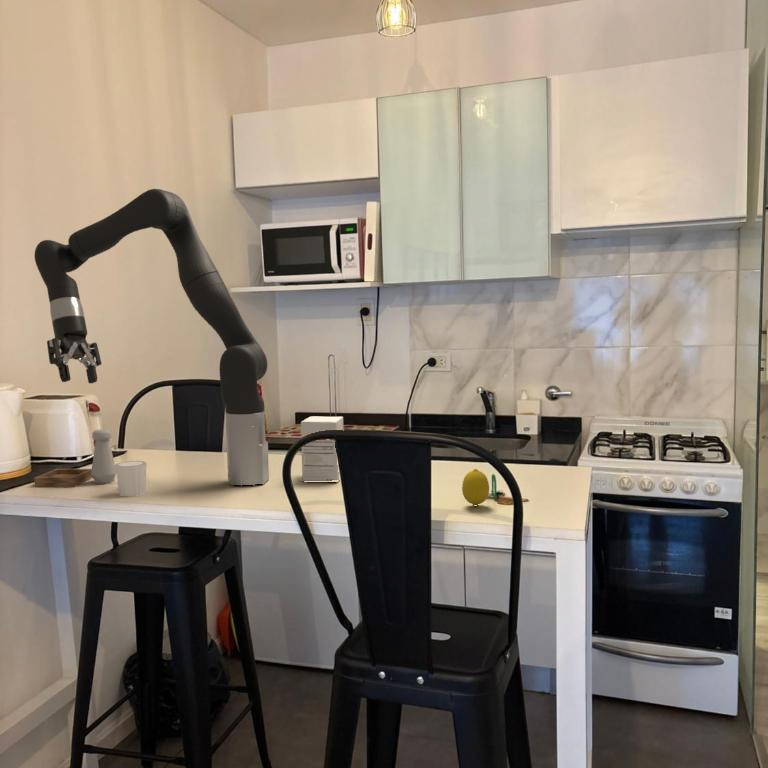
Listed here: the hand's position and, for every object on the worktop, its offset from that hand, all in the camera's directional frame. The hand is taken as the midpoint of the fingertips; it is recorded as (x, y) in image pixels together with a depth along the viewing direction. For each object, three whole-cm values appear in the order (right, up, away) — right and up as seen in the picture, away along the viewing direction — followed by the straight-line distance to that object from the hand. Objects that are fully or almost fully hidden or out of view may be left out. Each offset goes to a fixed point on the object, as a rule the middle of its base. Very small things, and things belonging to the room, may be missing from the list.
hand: (80, 382), depth 179 cm
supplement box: (+60, -24, 0) cm, 64 cm away
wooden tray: (-4, -25, +2) cm, 25 cm away
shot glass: (+17, -26, -11) cm, 33 cm away
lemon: (+93, -26, -27) cm, 101 cm away
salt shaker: (+6, -25, +1) cm, 25 cm away
